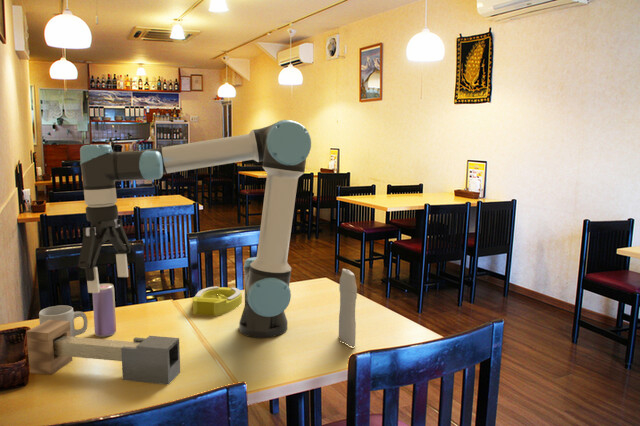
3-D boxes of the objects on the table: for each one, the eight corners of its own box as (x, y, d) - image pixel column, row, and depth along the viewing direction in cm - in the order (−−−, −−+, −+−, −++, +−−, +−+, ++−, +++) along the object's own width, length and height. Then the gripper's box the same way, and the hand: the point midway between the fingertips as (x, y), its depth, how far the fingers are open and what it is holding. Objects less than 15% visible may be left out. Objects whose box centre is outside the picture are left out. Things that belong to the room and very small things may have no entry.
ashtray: (182, 314, 163) (182, 300, 162) (206, 295, 183) (206, 282, 182) (228, 317, 160) (228, 303, 160) (247, 298, 181) (247, 285, 180)
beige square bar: (156, 357, 120) (156, 343, 120) (149, 363, 117) (149, 349, 116) (57, 348, 125) (56, 335, 124) (47, 354, 121) (46, 340, 121)
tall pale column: (333, 335, 146) (334, 266, 142) (345, 334, 147) (347, 265, 144) (347, 350, 136) (349, 275, 133) (360, 348, 137) (362, 274, 134)
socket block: (72, 360, 127) (69, 321, 125) (51, 374, 119) (48, 333, 118) (52, 358, 128) (49, 319, 126) (29, 372, 120) (26, 331, 118)
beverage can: (108, 338, 141) (105, 289, 139) (90, 336, 143) (87, 288, 140) (120, 330, 147) (118, 284, 145) (103, 329, 148) (100, 282, 146)
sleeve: (180, 372, 121) (179, 338, 120) (168, 384, 115) (167, 348, 114) (136, 368, 123) (135, 334, 122) (122, 380, 117) (121, 344, 116)
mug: (43, 356, 129) (40, 318, 127) (39, 345, 136) (37, 308, 134) (91, 346, 136) (89, 309, 134) (85, 336, 143) (83, 301, 141)
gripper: (114, 198, 135) (121, 270, 139) (55, 212, 111) (65, 299, 114) (139, 198, 134) (145, 271, 138) (85, 212, 110) (94, 300, 113)
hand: (109, 284), depth 126 cm, fingers open, 13 cm apart
